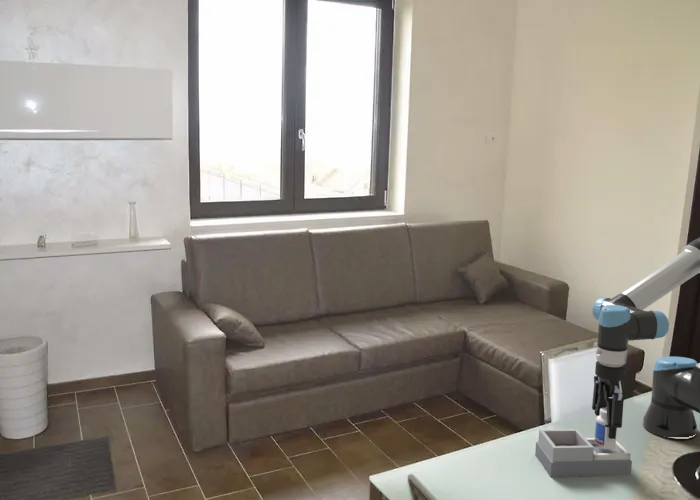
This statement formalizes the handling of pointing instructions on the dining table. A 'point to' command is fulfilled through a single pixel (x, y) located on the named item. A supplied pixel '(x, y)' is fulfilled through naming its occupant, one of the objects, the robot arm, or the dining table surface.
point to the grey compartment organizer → (579, 455)
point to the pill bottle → (601, 427)
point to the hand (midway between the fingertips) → (604, 442)
